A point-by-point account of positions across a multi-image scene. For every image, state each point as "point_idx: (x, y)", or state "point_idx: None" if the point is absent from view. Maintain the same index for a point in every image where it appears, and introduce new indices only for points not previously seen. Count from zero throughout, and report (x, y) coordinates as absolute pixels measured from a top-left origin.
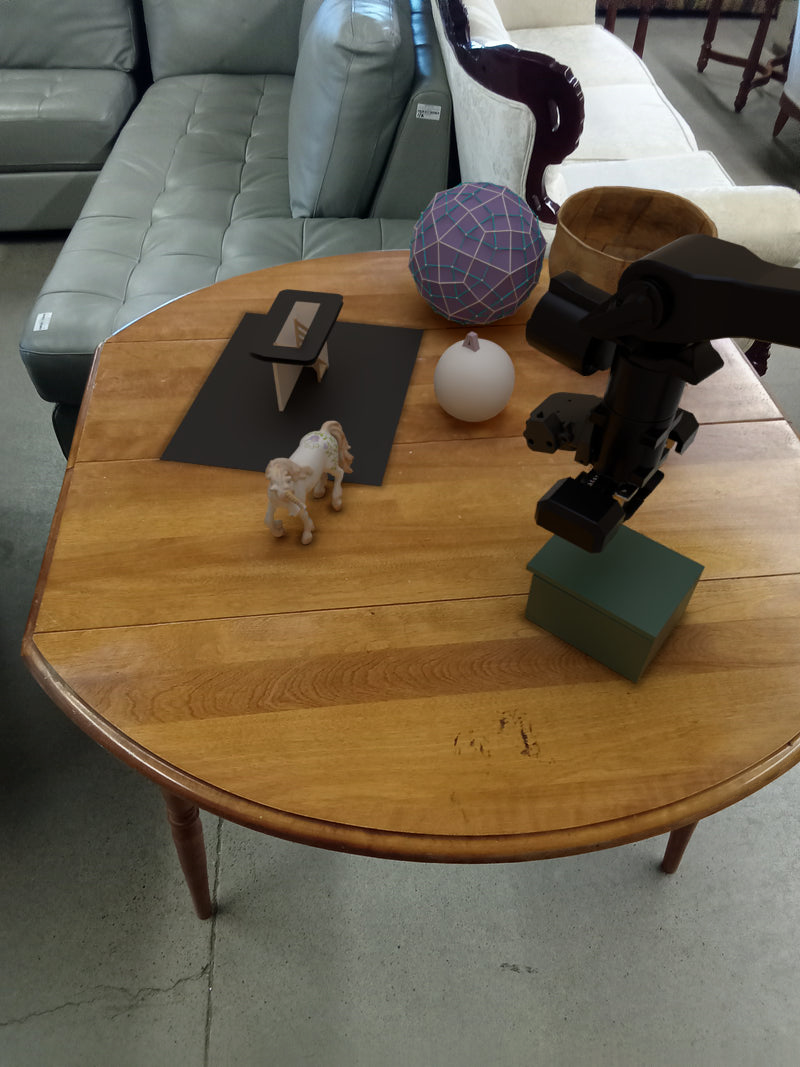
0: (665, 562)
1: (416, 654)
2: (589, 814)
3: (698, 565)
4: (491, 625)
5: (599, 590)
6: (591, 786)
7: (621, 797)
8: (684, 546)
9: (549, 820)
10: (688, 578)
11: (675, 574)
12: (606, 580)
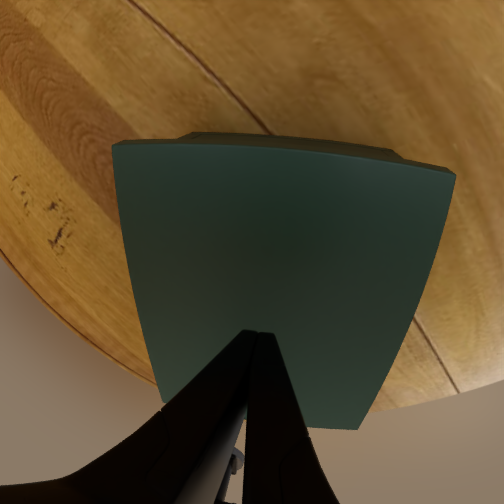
0: (335, 394)
1: (47, 58)
2: (62, 311)
3: (354, 425)
4: (143, 98)
5: (172, 322)
6: (77, 307)
7: (90, 329)
8: (480, 298)
9: (36, 285)
10: (314, 422)
11: (313, 409)
12: (207, 327)
